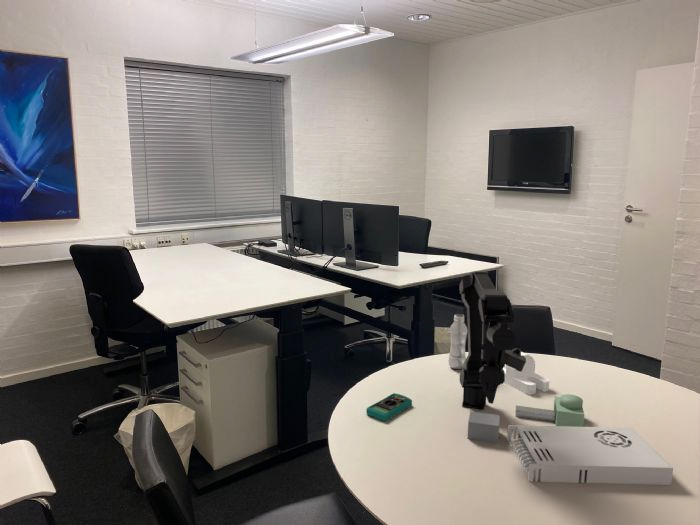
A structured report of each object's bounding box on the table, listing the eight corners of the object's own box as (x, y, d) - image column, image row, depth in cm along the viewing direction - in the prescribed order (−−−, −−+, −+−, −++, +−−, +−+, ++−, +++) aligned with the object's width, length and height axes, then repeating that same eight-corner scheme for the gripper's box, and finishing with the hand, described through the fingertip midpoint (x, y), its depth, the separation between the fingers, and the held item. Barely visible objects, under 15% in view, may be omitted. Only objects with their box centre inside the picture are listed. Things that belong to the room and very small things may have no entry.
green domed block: (515, 421, 149) (517, 398, 148) (515, 406, 158) (516, 385, 157) (582, 431, 144) (585, 407, 142) (578, 415, 153) (580, 393, 152)
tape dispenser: (511, 371, 187) (513, 343, 185) (550, 390, 171) (552, 360, 169) (491, 376, 183) (492, 347, 181) (528, 396, 167) (530, 364, 165)
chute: (467, 438, 139) (468, 421, 138) (469, 427, 145) (470, 411, 144) (498, 443, 137) (499, 426, 136) (498, 432, 143) (499, 415, 142)
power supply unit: (506, 442, 139) (507, 424, 138) (630, 444, 138) (632, 427, 137) (528, 483, 120) (529, 464, 119) (671, 487, 119) (674, 467, 118)
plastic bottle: (448, 370, 187) (450, 317, 183) (447, 363, 193) (449, 312, 190) (466, 371, 186) (468, 318, 182) (465, 365, 192) (467, 313, 189)
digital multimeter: (413, 406, 159) (413, 397, 159) (385, 423, 148) (385, 414, 147) (394, 399, 164) (394, 391, 163) (365, 416, 153) (365, 406, 152)
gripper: (526, 351, 126) (524, 413, 127) (522, 335, 144) (520, 389, 145) (480, 348, 129) (478, 408, 130) (482, 332, 147) (480, 385, 148)
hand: (491, 397), depth 139 cm, fingers open, 9 cm apart
